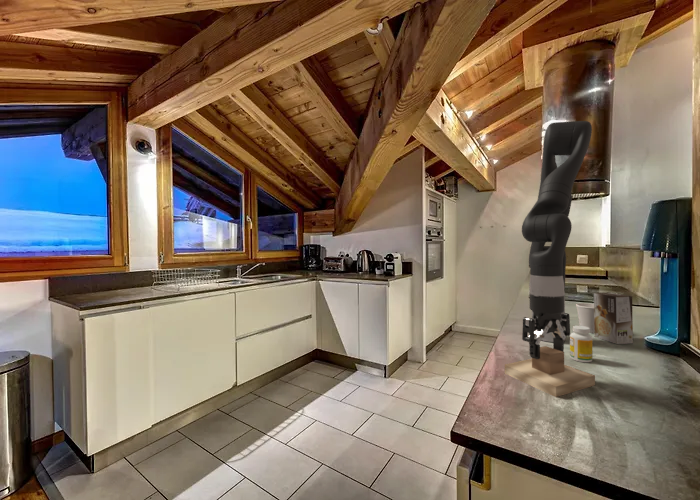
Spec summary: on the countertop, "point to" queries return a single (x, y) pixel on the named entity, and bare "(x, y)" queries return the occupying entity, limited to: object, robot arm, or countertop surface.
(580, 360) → the supplement bottle
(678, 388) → the countertop surface
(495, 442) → the countertop surface
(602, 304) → the coffee box
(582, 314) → the dixie cup
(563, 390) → the maple block
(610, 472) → the countertop surface
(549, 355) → the walnut cube
